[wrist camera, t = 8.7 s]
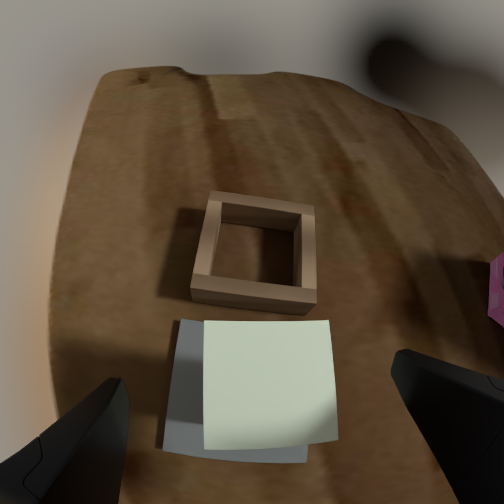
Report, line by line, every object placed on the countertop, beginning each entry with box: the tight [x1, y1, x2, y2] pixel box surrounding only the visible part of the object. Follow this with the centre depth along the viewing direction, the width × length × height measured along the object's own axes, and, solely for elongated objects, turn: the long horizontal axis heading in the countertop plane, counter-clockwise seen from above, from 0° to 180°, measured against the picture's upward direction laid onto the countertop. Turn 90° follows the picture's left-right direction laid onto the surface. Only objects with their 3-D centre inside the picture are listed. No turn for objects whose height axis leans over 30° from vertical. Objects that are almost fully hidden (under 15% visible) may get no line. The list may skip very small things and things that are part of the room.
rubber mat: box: [163, 319, 308, 463], centre depth 17 cm, size 9×9×1 cm
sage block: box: [203, 320, 338, 450], centre depth 12 cm, size 4×4×10 cm
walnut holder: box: [190, 190, 317, 315], centre depth 21 cm, size 8×8×2 cm
